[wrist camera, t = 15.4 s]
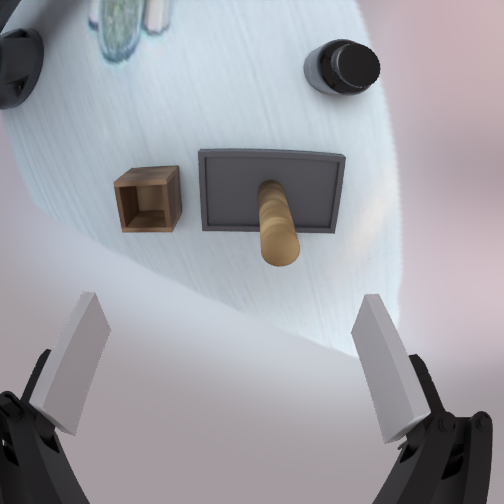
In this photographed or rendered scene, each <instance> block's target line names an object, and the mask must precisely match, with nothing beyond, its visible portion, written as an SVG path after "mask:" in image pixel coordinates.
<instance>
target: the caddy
mask: <svg viewBox="0 0 504 504" xmlns="http://www.w3.org/2000/svg"><path fill="white" fill-rule="evenodd" d="M114 188H115V194H116V200H117V206H118V212H119V217H120V222H121V227H122V232H172V231H173V229H174V227H175V225H176V223H177V221H178V219H179V217H180V215H181V213H182V205H181V194H180V181H179V167H178V166H158V167H142V168H131V169H130V170H129V171H127V172H126V173H125V174H123V175H122V176H121V177H120V178H118V179H117V180H116V181H114Z"/></svg>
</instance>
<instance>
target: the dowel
mask: <svg viewBox="0 0 504 504" xmlns="http://www.w3.org/2000/svg"><path fill="white" fill-rule="evenodd" d="M258 201H259V219H260V238H261V254H262V257H263V258H264V260H265V261H266V262H267V263H269V264H271V265H273V266H286V265H289V264H291V263H292V262H294V261H295V260H296V259H297V257H298V256H299V253H300V245H299V241H298V238H297V234H296V231H295V227H294V224H293V221H292V217H291V214H290V210H289V207H288V204H287V200H286V197H285V194H284V191H283V187H282V186H281V184H280V183H279V182H277V181H275V180H267V181H264V182H263V183H262V184H261V185H260V186H259V188H258Z"/></svg>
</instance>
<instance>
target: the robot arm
mask: <svg viewBox="0 0 504 504" xmlns="http://www.w3.org/2000/svg"><path fill="white" fill-rule="evenodd" d="M20 1H21V0H0V33H1V31H2V30H3V28H4V26H5V25H6V23H7V21H8V20H9V18H10V16H11V15H12V13H13V12H14V10H15V9H16V7H17V6H18V4H19V3H20ZM42 62H43V44H42V40H41V37H40V36H39V34H38V33H37V32H36V31H35V30H32V29H26V28H19V29H15V30H12V31H9V32H7V33H4V34H1V35H0V110H4V109H8V108H12V107H15V106H17V105H19V104H20V103H22V102H23V101H24V100H25V99H26V98H27V97H28V95H29V94H30V93H31V91H32V89H33V88H34V86H35V84H36V82H37V79H38V77H39V74H40V71H41V67H42ZM110 331H111V329H110V326H109V324H108V322H107V320H106V318H105V315H104V313H103V310H102V308H101V306H100V303H99V301H98V298H97V296H96V293H95V292H83V293H82V294H81V296H80V298H79V300H78V301H77V303H76V305H75V307H74V308H73V310H72V312H71V314H70V315H69V317H68V319H67V321H66V323H65V325H64V327H63V329H62V331H61V332H60V334H59V336H58V338H57V340H56V342H55V344H54V347H53V348H52V350H49V349H46V350H45V351H44V352H43V354H41V356H40V357H39V359H38V361H37V363H36V367H35V368H34V370H33V372H32V374H31V377H30V379H29V381H28V383H27V385H26V388H25V390H24V393H23V395H22V397H21V399H20V400H19V399H18V398H17V397H16V396H15V395H14V394H13V393H12V392H10V391H5V392H2V393H1V394H0V504H90V503H89V501H88V500H87V498H86V496H85V495H84V492H83V491H82V489H81V487H80V485H79V483H78V481H77V479H76V477H75V475H74V473H73V471H72V469H71V467H70V464H69V462H68V460H67V458H66V455H65V453H64V451H63V448H62V446H61V444H60V441H59V438H58V436H57V434H56V432H55V431H54V430H55V426H56V427H57V428H58V429H59V430H61V431H62V432H65V433H68V434H70V435H74V436H75V434H76V431H77V427H78V424H79V420H80V417H81V413H82V410H83V406H84V403H85V400H86V397H87V394H88V391H89V388H90V385H91V382H92V379H93V376H94V374H95V371H96V368H97V365H98V362H99V360H100V357H101V354H102V352H103V349H104V346H105V344H106V341H107V339H108V336H109V334H110ZM351 334H352V337H353V340H354V343H355V346H356V349H357V352H358V355H359V358H360V361H361V364H362V367H363V370H364V373H365V377H366V380H367V383H368V386H369V390H370V393H371V397H372V400H373V403H374V407H375V410H376V414H377V418H378V421H379V424H380V428H381V432H382V436H383V440H384V443H385V444H386V443H390V442H394V441H397V440H400V439H401V438H402V437H404V436H405V435H406V437H407V440H406V441H405V442H404V443H402V444H401V445H400V446H399V447H398V450H400V449H401V448H402V447H403V448H402V450H401V452H400V455H399V457H398V459H397V461H396V463H395V465H394V467H393V468H392V470H391V472H390V474H389V476H388V478H387V480H386V482H385V483H384V485H383V487H382V488H381V490H380V492H379V494H378V495H377V497H376V499H375V500H374V502H373V503H372V504H486V502H487V496H488V489H489V481H490V472H491V461H492V435H493V434H492V432H493V427H492V426H493V425H492V420H491V417H490V416H489V415H488V414H487V413H486V412H483V411H479V412H477V413H476V414H474V415H473V416H472V417H455V416H454V415H453V414H451V413H450V412H446V411H445V409H444V407H443V405H442V403H441V400H440V398H439V395H438V393H437V390H436V388H435V385H434V383H433V381H432V379H431V376H430V374H429V373H428V369H427V367H426V365H425V363H424V361H423V360H422V359H421V358H420V357H419V356H418V355H417V354H414V355H409V356H408V355H407V352H406V350H405V347H404V345H403V343H402V341H401V339H400V337H399V334H398V332H397V330H396V328H395V326H394V324H393V322H392V320H391V318H390V316H389V314H388V312H387V310H386V308H385V306H384V304H383V302H382V300H381V298H380V296H379V294H369V295H365V296H364V299H363V302H362V305H361V307H360V310H359V313H358V316H357V318H356V321H355V324H354V326H353V329H352V332H351ZM2 439H3V440H4V445H3V443H2Z"/></svg>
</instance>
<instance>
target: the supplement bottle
mask: <svg viewBox="0 0 504 504" xmlns="http://www.w3.org/2000/svg"><path fill="white" fill-rule="evenodd" d="M304 73H305V76H306V78H307V80H308V82H309V83H310V84H311V85H312V86H313V87H314V88H316V89H317V90H319V91H322V92H325V93H330V94H339V95H357V94H360V93H362V92H364V91H365V90H367V89H368V88H369V87H370V86H371V84H373V83H374V82H375V81H376V80H377V78H378V77H379V74H380V63H379V60H378V58H377V56H376V55H375V53H374V52H372V50H371V49H369V48H368V47H366V46H364V45H361V44H358V43H356V42H354V41H351V40H347V39H337V40H333V41H330V42H328V43H326V44H324V45H323V46H321V47H319V48H317V49H315V50H314V51H312V52H311V53H310V54H309V55H308V56H307V58H306V60H305V63H304Z"/></svg>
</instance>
